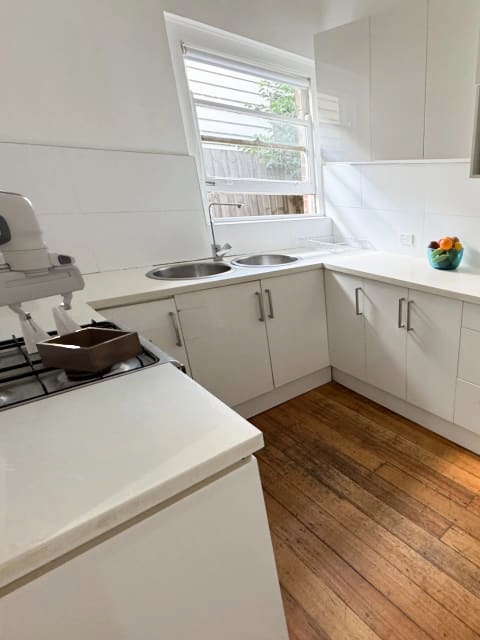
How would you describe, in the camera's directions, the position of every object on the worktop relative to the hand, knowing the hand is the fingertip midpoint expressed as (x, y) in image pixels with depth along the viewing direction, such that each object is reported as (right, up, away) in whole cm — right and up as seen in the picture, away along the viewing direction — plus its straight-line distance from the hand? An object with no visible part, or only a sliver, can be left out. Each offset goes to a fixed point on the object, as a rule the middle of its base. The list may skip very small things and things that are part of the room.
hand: (47, 314), depth 99 cm
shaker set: (0, -9, +4) cm, 10 cm away
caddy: (+15, -11, -4) cm, 20 cm away
